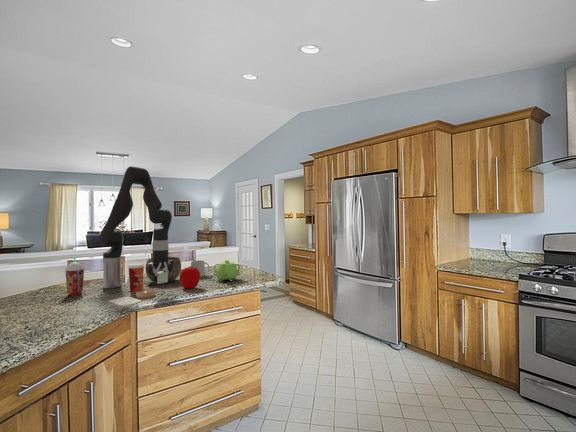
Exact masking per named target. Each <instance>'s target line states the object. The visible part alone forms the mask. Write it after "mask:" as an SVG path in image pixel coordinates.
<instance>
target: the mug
mask: <svg viewBox="0 0 576 432" xmlns="http://www.w3.org/2000/svg"><path fill="white" fill-rule="evenodd" d="M205 265H206V266H207V270H206V271H205V267H206V266H205ZM190 266H191V267H196V268H197V269H198V270H199V272H200V278H203V277H205V276H204V275H205V274H207V273H209V271H210V264H209V263H207V262H205V260H192V261H190ZM202 276H203V277H202Z"/></svg>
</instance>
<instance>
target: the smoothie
mask: <svg viewBox="0 0 576 432" xmlns="http://www.w3.org/2000/svg"><path fill="white" fill-rule="evenodd" d="M64 271H65V280H66V281H65V282H66V284H65V285H66V293H67V294H68V296H70V297H72V296H80V295H81V294H82V293H83V291H84V277H85V276H84V274H85V267H84V265H83V264H82V263H81V262H77V261H76V256H73V261H72V262H70V263H69V264H68V265H67V266H66V268H65V269H64Z"/></svg>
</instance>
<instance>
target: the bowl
mask: <svg viewBox="0 0 576 432" xmlns="http://www.w3.org/2000/svg"><path fill="white" fill-rule="evenodd" d="M168 260H171V261H174V262H173V267H172V271H171V272H169V273H168V282H167V283H169V282H172V281H174V280H176V279H178V277H180V273H181V271H182V262H181V261H182V260H181V259H180V257H179V256H178V257H177V256H168ZM152 261H153V257H152V258H147V261H146V263H145V274H146V277H148V279H149V280H150V281H152V282H153V276H152V275H149V273H148V269H147V264H149V263H152ZM153 268H154V265H153V267H152V269H153ZM167 268H168V264H167ZM160 271H163V270H162V268H161V269H159V271H158V272H160Z"/></svg>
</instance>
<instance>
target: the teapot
mask: <svg viewBox="0 0 576 432" xmlns="http://www.w3.org/2000/svg"><path fill="white" fill-rule="evenodd" d="M237 267H238V268H237ZM213 268H214V269H213V270H214V271H213V276H215V277H216V278H217V279H218V280H219V282H220V281H222V282H224V281H223V280H226V281H227V280H228V281H229V280H235V279H236V278H237V276H238V277H239V276H241V274H242V273H241V272H240V269H241V265H240V264H238V263H235V262H232V261H230V260H228V259H227V260H224V262H220V263H216V264H214V267H213ZM234 278H235V279H234Z"/></svg>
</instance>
